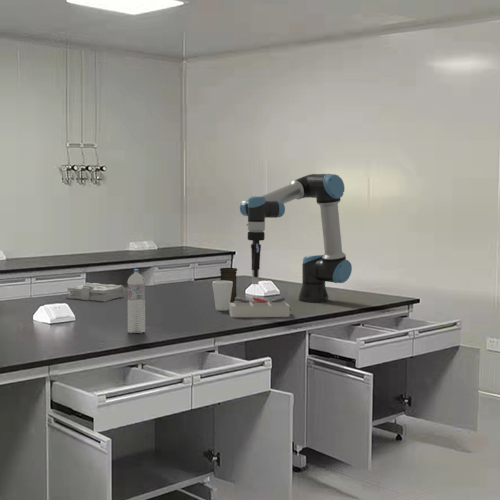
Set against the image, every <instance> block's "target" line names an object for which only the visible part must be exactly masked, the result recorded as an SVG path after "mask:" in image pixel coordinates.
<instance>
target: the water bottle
mask: <svg viewBox="0 0 500 500" xmlns="http://www.w3.org/2000/svg"><path fill="white" fill-rule="evenodd" d="M139 270H140V269H139V268H138V269H137V268H134V269H133V273H132V274H131V275H130V276H129V277H128V279H127V332H128V333H129V334H132V333H140V334H144V333H145V331H146V299H145V298H146V279H145V278H144V276H143V275H142V274H140V273H139ZM143 332H144V333H143Z"/></svg>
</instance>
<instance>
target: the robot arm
mask: <svg viewBox="0 0 500 500" xmlns="http://www.w3.org/2000/svg"><path fill="white" fill-rule="evenodd" d="M345 188H346V187H345V184H344V181H343V179H342V177H340V175H338V174H334V173H310V174H307V175H304V176H302V177H299V178H297V179H295V180H292V181H290V183H289V184H287V185H285V186H283V187H279V188H278V189H275V190H273V191H271V192H268V193H266V194H263V195H261V196H254V195H251V196H249V197H248V199H246V200H245V199H244V200H242V201H241V203H240V205H239V212H240V214H241V215H242V216H245V217H247V223H246V227H247V240H248V241H252V243H251V244H250V249H251V270H252V271H251V270H250V271H251V273H252V274H251V285H259V280H260V279H259V275H260V274H259V273H260V265H261V264H260V263H261V251H262V245H261V244H260V241H261V242H263V241H264V240H265V236H266V235H265V230H266V229H265V228H266V219H267V218H269V219H274V218H275V219H277V218H281V217H283V216H284V214H285V213H286V212H285V211H286V206H285V204H286V203H289V202H291V201H294V200H301V199H306V198H309V199H310V198H312V199H313V198H315V200H316V204H317V205H319V208H320V215H321V216H320V218H321V227H322V229H321V230H322V236H323V237H322V238H323V246H324V247H323V248H324V249H323V250H324V254H320V255H319V254H318V255H306V256H304V257H303V258H302V267H301V268H302V273H301V274H302V280H301V281H302V285H301V287H300V291H299V295H298V301H300V302H306V303H323V302H324V303H325V302H328V301H329V294H328V290H327V287H326V282H327V283H328V282H330V283H334V284H344V283H345V282H347V281H348V280H349V279H350V277H351V275H352V270H353V267H352V263H351V262H350V261H349V260H347V257H346V254H345V253H344V252H343V248H342V235H341V225H340V215H339V214H340V213H339V203H340V202H341V201H342V200H341V198H342V197H343V196H344V193H345Z"/></svg>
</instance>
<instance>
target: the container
mask: <svg viewBox="0 0 500 500" xmlns="http://www.w3.org/2000/svg"><path fill="white" fill-rule="evenodd" d="M219 271H220V272H219V273H220V281H232V282H233V287H232V293H231V300H230V303H234V301H236V300H235V297H237V271H238V268H237V267H221V268H219Z"/></svg>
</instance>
